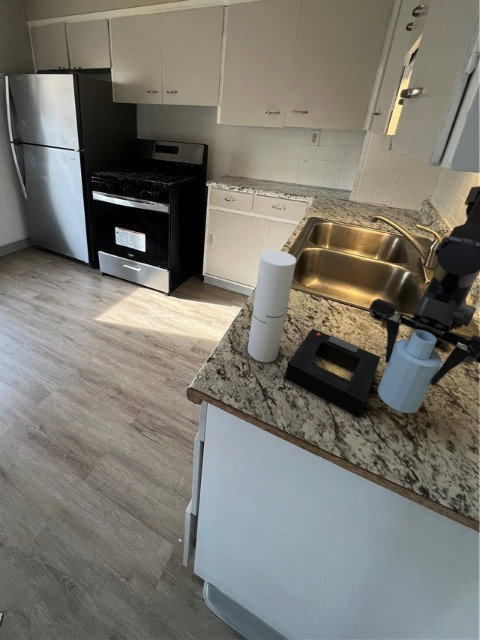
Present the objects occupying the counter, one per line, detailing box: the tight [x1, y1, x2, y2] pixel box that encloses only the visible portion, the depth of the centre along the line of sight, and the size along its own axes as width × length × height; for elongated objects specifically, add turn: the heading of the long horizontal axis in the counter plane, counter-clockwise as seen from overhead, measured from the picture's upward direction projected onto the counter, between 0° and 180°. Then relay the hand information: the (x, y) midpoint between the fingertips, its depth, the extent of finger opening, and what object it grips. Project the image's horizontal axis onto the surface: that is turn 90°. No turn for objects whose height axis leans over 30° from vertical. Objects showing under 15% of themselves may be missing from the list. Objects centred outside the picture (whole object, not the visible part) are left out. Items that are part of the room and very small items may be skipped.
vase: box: [377, 330, 443, 414], centre depth 55 cm, size 7×7×14 cm
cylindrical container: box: [247, 250, 297, 363], centre depth 70 cm, size 7×7×25 cm
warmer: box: [284, 327, 381, 419], centre depth 68 cm, size 15×15×5 cm
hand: (408, 373), depth 54 cm, fingers closed on vase, 7 cm apart
